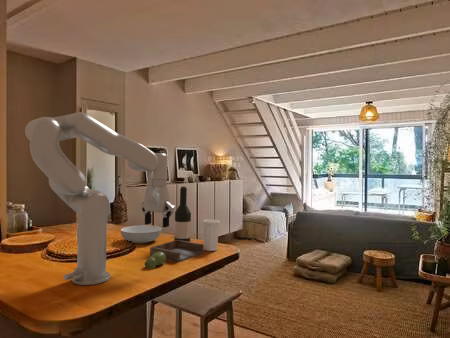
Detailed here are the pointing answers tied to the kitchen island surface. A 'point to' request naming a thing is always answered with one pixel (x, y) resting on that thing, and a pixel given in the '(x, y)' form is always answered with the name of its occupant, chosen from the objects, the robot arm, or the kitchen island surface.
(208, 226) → the cup
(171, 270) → the kitchen island surface
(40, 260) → the kitchen island surface
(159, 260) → the pear
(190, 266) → the kitchen island surface
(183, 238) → the wine bottle
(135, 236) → the serving bowl
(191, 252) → the tray
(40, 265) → the kitchen island surface
